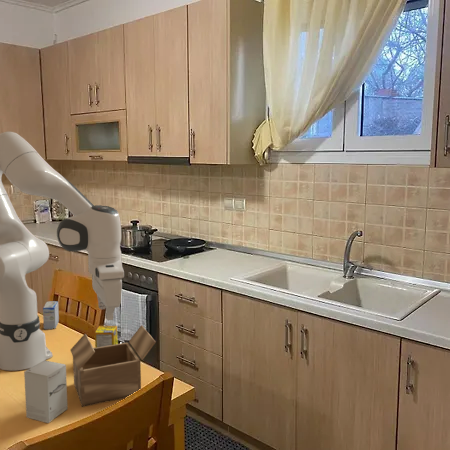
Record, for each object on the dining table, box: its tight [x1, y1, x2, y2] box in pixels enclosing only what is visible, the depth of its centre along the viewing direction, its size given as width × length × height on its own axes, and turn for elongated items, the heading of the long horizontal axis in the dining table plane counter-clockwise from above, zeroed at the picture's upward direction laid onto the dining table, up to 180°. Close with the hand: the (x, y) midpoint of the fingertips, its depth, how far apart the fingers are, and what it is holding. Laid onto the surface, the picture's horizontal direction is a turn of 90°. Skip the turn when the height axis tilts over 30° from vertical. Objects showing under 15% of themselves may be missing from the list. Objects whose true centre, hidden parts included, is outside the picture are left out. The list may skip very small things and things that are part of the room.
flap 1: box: [70, 333, 95, 370], centre depth 133 cm, size 14×6×1 cm
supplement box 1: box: [23, 360, 68, 424], centre depth 123 cm, size 7×7×13 cm
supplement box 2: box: [94, 325, 119, 348], centre depth 155 cm, size 6×6×11 cm
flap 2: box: [128, 324, 157, 361], centre depth 140 cm, size 14×6×1 cm
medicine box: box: [42, 300, 60, 330], centre depth 185 cm, size 8×4×9 cm, turn 10°
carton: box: [72, 341, 142, 408], centre depth 136 cm, size 14×16×10 cm
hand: (105, 313), depth 134 cm, fingers open, 8 cm apart
